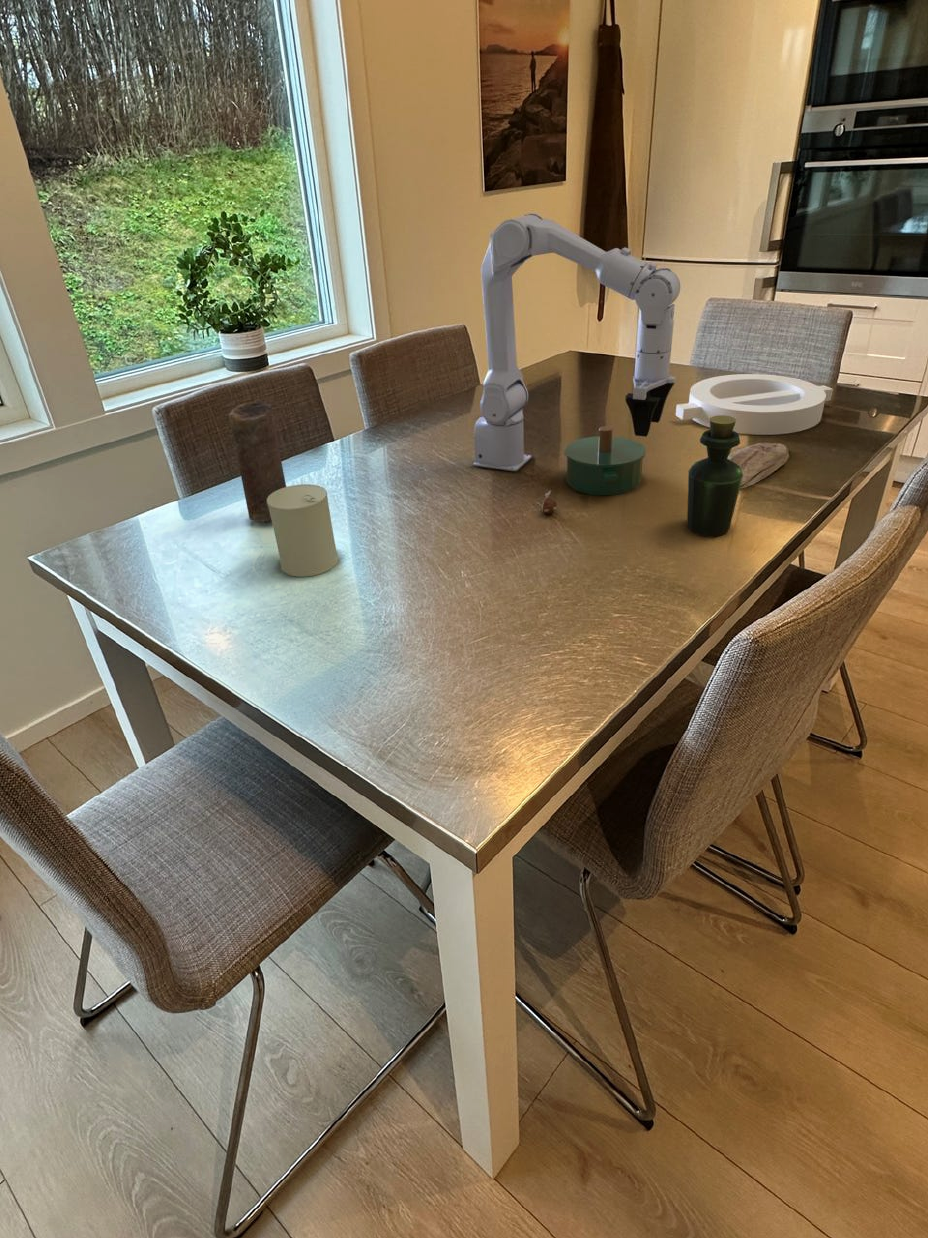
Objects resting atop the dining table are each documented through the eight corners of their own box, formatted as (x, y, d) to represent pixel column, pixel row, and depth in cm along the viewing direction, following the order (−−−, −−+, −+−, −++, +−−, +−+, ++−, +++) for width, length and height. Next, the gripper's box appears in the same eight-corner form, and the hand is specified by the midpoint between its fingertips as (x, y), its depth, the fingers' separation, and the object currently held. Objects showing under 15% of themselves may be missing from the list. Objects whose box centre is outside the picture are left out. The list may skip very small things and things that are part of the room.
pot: (570, 502, 132) (571, 473, 129) (563, 462, 147) (563, 436, 144) (648, 500, 131) (650, 470, 128) (632, 460, 147) (634, 433, 144)
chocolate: (550, 518, 127) (551, 496, 125) (539, 515, 128) (539, 494, 126) (559, 511, 129) (559, 490, 127) (548, 509, 130) (548, 488, 128)
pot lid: (567, 472, 131) (568, 444, 128) (561, 443, 143) (562, 417, 140) (651, 469, 130) (653, 440, 127) (638, 439, 142) (640, 413, 139)
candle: (300, 511, 135) (279, 402, 124) (279, 529, 129) (255, 416, 119) (264, 507, 137) (240, 400, 127) (242, 524, 132) (215, 413, 121)
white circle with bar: (832, 402, 168) (837, 380, 166) (806, 442, 149) (810, 418, 147) (709, 389, 182) (711, 369, 179) (670, 424, 162) (672, 402, 160)
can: (312, 582, 113) (298, 510, 107) (268, 569, 117) (252, 499, 111) (350, 556, 120) (339, 486, 113) (307, 544, 124) (294, 477, 117)
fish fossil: (748, 499, 129) (749, 492, 128) (692, 491, 134) (692, 485, 134) (795, 448, 145) (795, 443, 145) (742, 444, 151) (743, 438, 150)
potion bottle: (671, 523, 122) (683, 416, 113) (711, 513, 125) (726, 407, 115) (703, 544, 116) (718, 432, 106) (745, 532, 119) (763, 422, 109)
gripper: (666, 362, 118) (658, 444, 125) (688, 340, 128) (679, 417, 136) (622, 359, 121) (618, 439, 128) (647, 338, 131) (641, 414, 139)
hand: (647, 428), depth 132 cm, fingers open, 7 cm apart
